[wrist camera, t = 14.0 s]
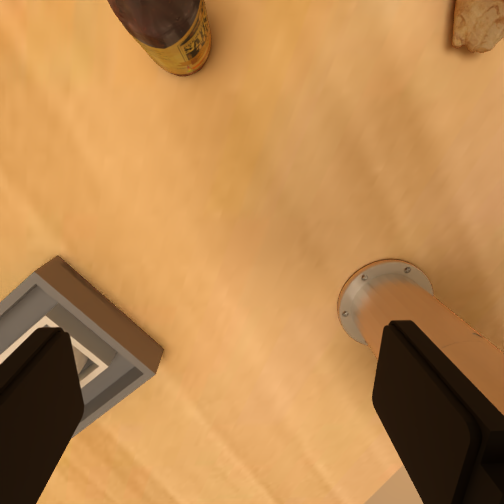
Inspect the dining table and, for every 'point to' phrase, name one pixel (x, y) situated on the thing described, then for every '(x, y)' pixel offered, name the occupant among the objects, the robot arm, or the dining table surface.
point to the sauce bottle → (168, 31)
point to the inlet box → (81, 334)
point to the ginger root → (478, 24)
